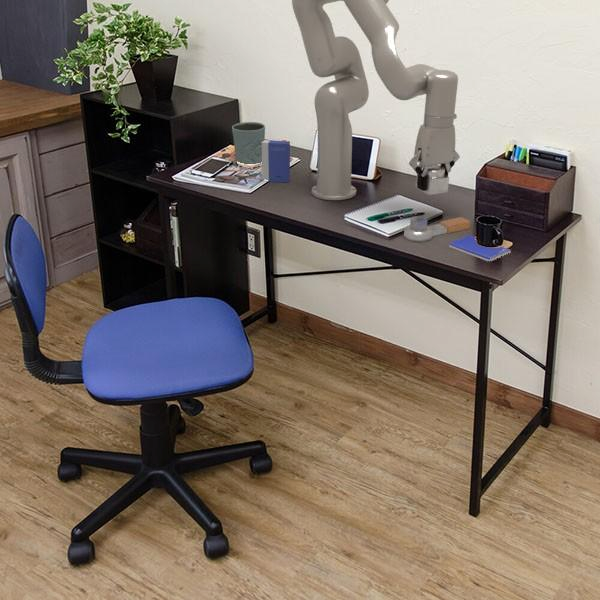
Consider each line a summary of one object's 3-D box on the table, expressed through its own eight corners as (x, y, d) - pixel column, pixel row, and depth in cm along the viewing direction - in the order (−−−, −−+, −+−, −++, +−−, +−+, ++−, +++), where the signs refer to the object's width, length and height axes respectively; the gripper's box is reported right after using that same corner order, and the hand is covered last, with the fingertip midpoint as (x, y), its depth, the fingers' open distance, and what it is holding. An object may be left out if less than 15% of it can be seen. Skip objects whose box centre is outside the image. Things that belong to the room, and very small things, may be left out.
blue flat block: (511, 249, 223) (470, 234, 232) (489, 257, 218) (449, 242, 227) (510, 255, 224) (470, 240, 232) (489, 264, 219) (448, 248, 228)
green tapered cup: (265, 169, 282) (264, 130, 277) (232, 169, 282) (231, 130, 276) (266, 158, 291) (265, 121, 286) (233, 159, 291) (232, 121, 286)
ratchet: (456, 222, 242) (458, 204, 240) (473, 230, 237) (475, 212, 235) (398, 234, 234) (399, 216, 232) (414, 244, 229) (415, 225, 227)
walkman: (290, 179, 273) (289, 140, 268) (288, 182, 270) (287, 142, 265) (264, 178, 274) (263, 138, 269) (262, 181, 272) (261, 141, 266)
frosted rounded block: (415, 187, 244) (417, 166, 242) (434, 184, 247) (436, 163, 244) (429, 195, 240) (431, 173, 237) (447, 191, 242) (450, 170, 240)
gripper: (456, 113, 242) (449, 178, 250) (402, 120, 234) (396, 187, 242) (474, 120, 236) (466, 187, 244) (419, 128, 228) (413, 197, 236)
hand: (431, 186), depth 243 cm, fingers closed on frosted rounded block, 6 cm apart
